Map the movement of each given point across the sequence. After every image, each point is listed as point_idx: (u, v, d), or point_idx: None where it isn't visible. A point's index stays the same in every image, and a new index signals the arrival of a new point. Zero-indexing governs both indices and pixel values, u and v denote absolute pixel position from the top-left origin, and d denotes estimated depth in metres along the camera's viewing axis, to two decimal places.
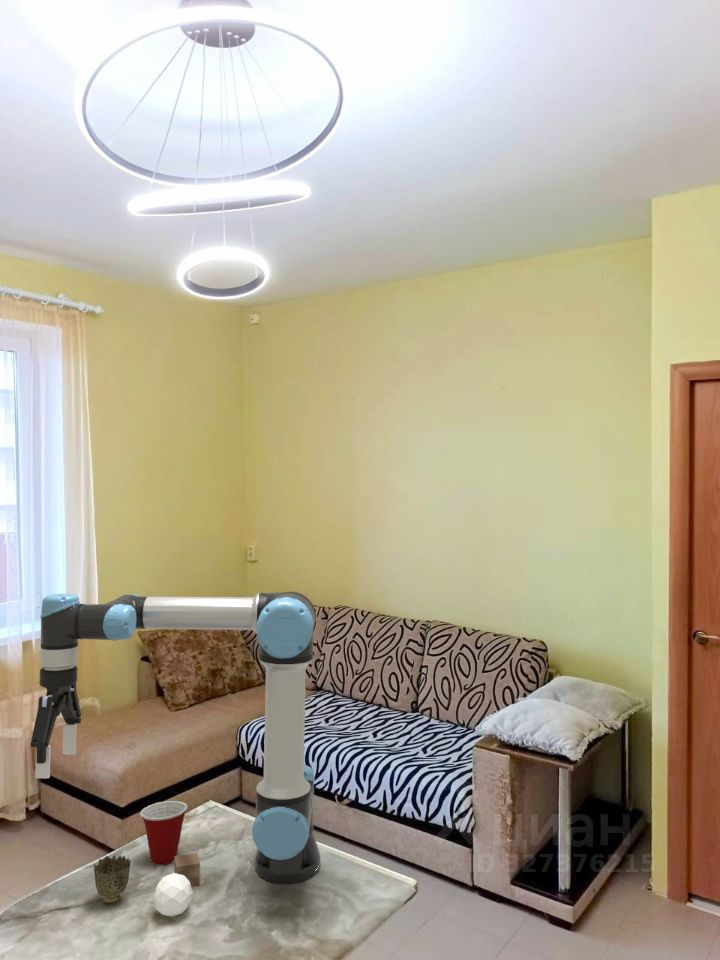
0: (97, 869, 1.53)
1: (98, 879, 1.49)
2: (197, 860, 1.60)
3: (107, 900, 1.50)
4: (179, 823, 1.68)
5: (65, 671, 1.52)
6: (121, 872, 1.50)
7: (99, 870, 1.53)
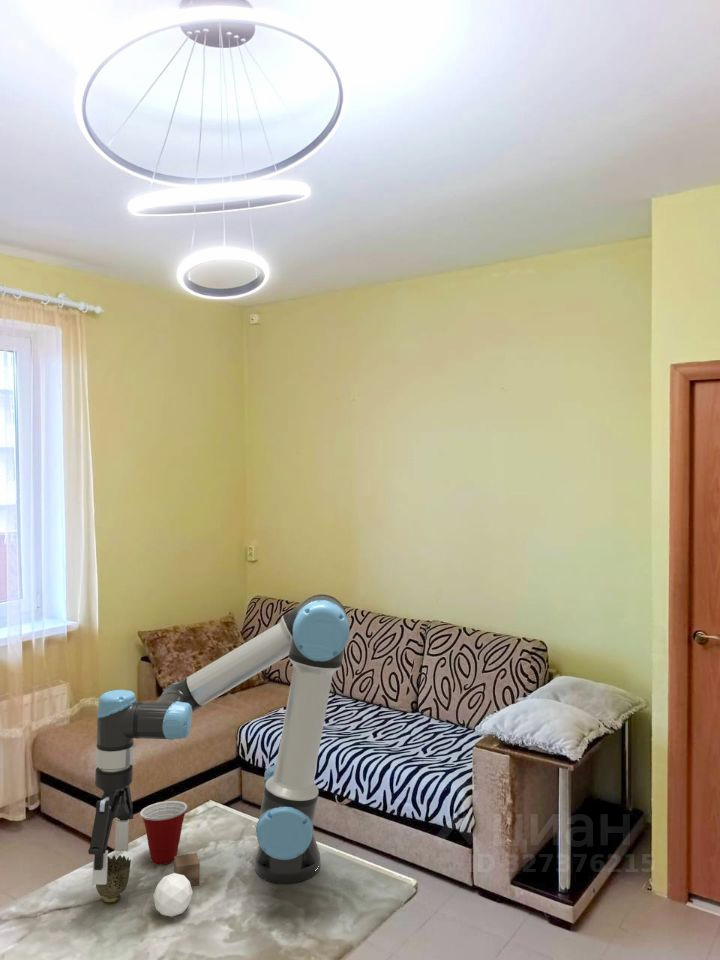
0: None
1: None
2: (197, 860, 1.60)
3: (107, 900, 1.50)
4: (179, 823, 1.68)
5: (122, 772, 1.50)
6: (121, 872, 1.50)
7: None
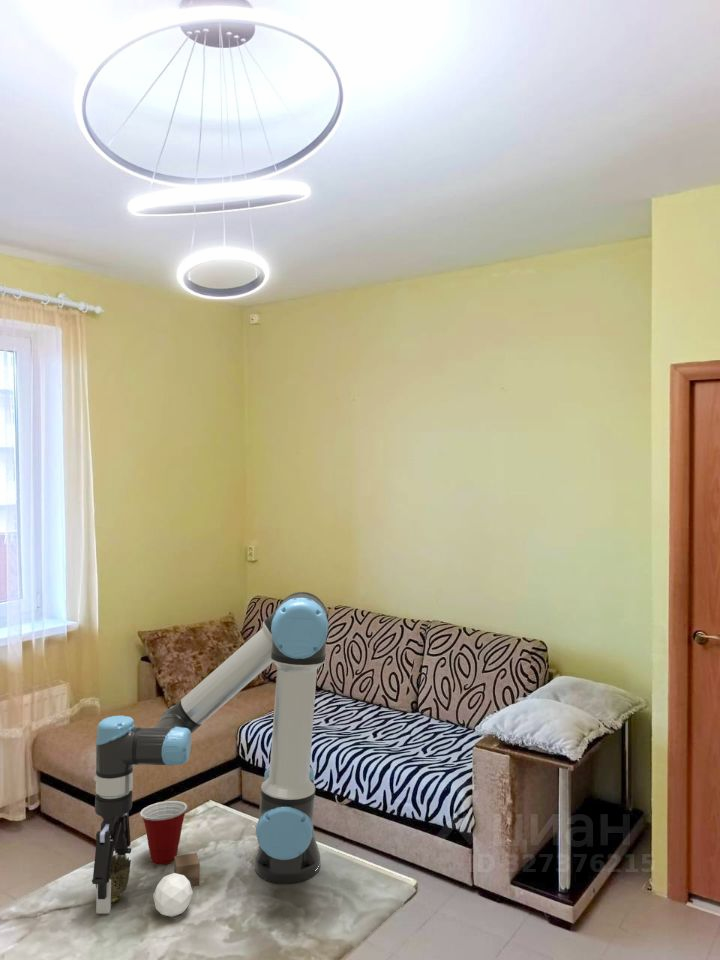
0: None
1: None
2: (197, 860, 1.60)
3: None
4: (179, 823, 1.68)
5: (121, 799, 1.50)
6: (121, 872, 1.50)
7: None
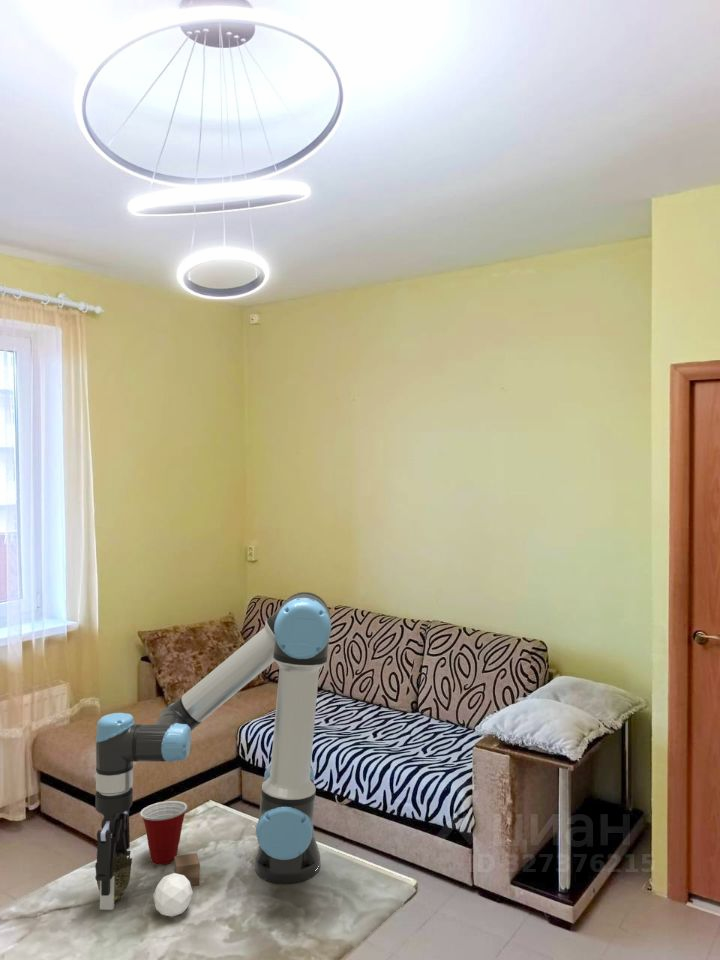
0: None
1: None
2: (197, 860, 1.60)
3: None
4: (179, 823, 1.68)
5: (122, 796, 1.50)
6: (122, 870, 1.50)
7: None
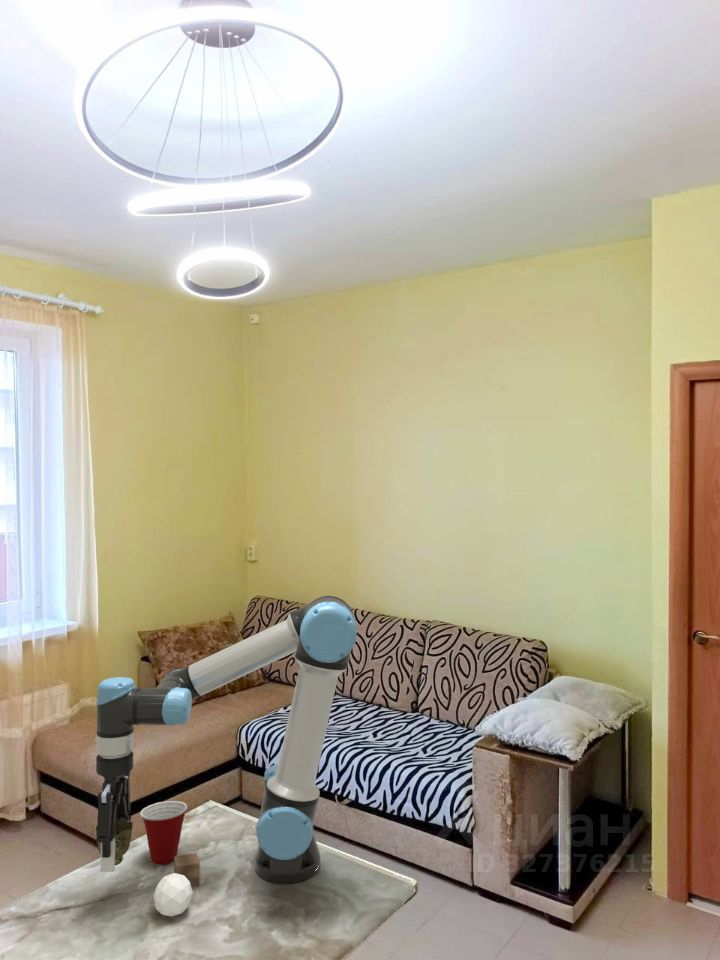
0: None
1: None
2: (197, 860, 1.60)
3: None
4: (179, 823, 1.68)
5: (122, 759, 1.50)
6: (123, 833, 1.50)
7: None
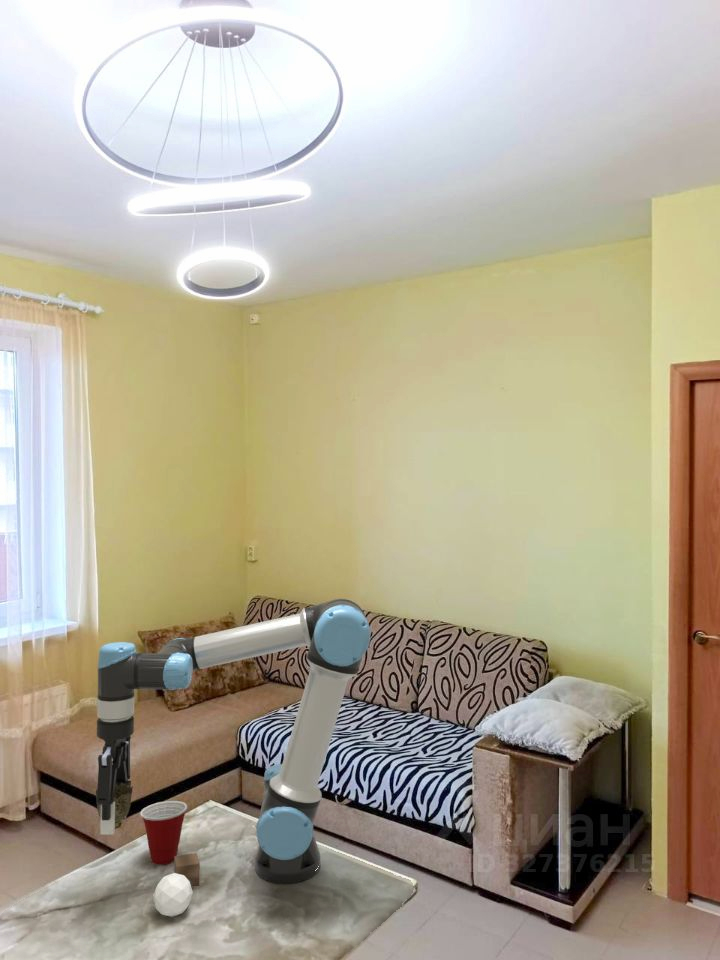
0: None
1: None
2: (197, 860, 1.60)
3: None
4: (179, 823, 1.68)
5: (123, 723, 1.50)
6: (123, 796, 1.50)
7: None
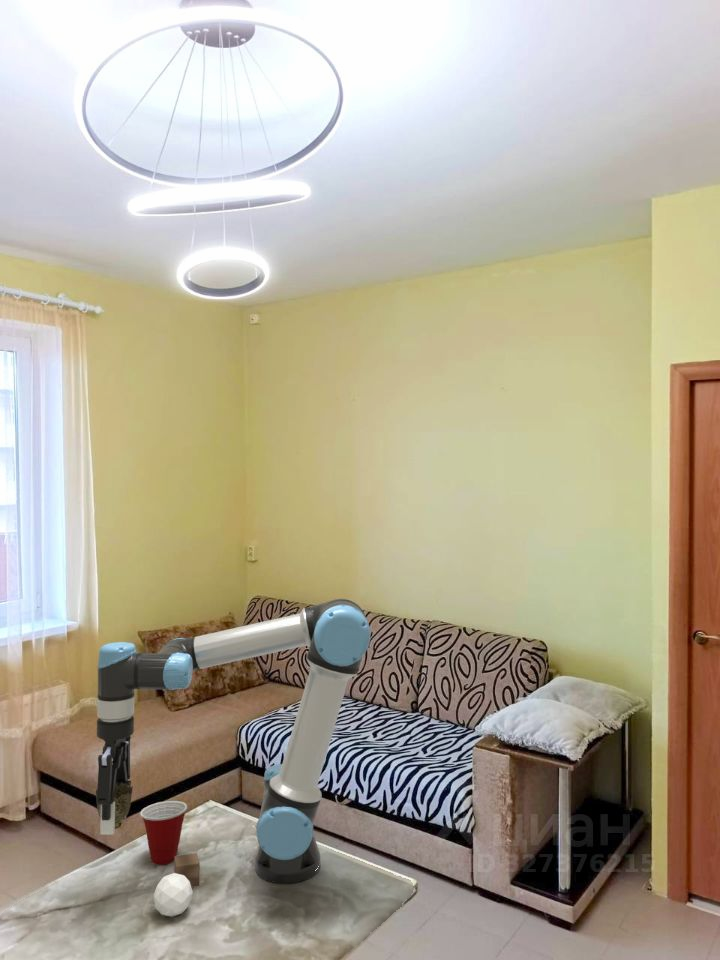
0: None
1: None
2: (197, 860, 1.60)
3: None
4: (179, 823, 1.68)
5: (123, 723, 1.50)
6: (123, 796, 1.50)
7: None
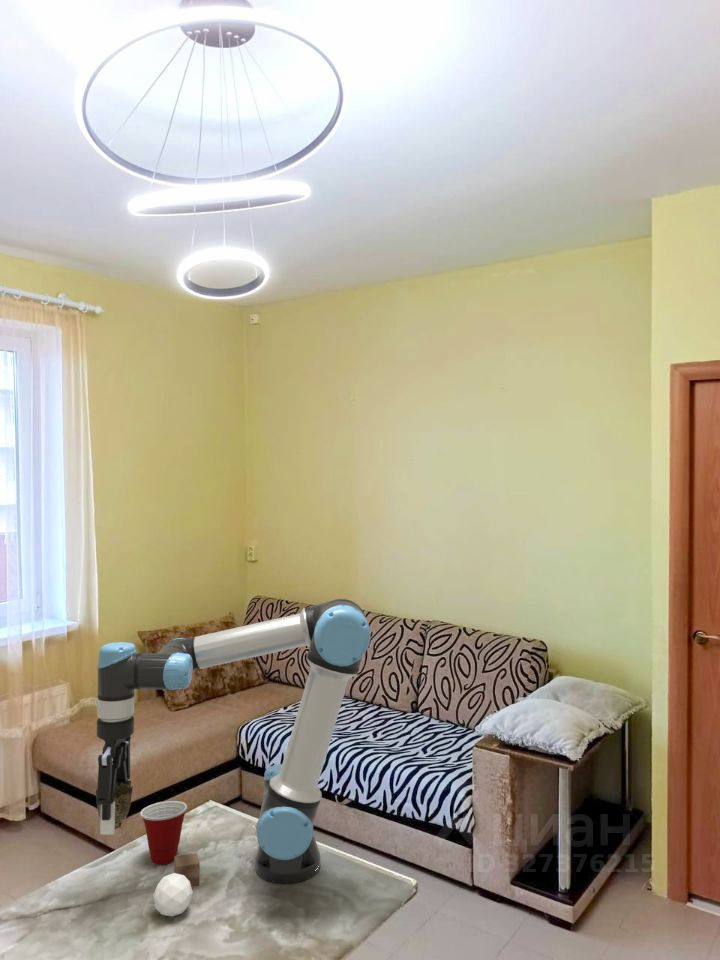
0: None
1: None
2: (197, 860, 1.60)
3: None
4: (179, 823, 1.68)
5: (123, 723, 1.50)
6: (123, 796, 1.50)
7: None
